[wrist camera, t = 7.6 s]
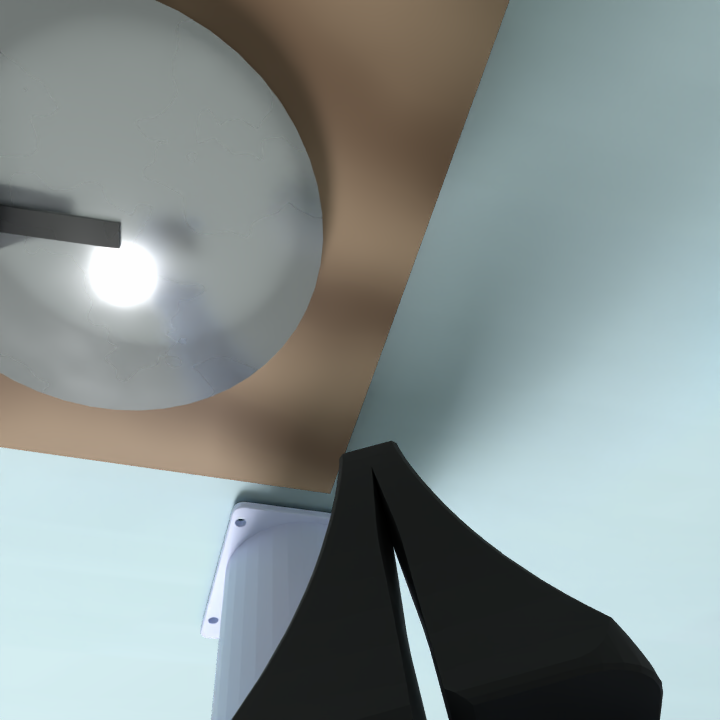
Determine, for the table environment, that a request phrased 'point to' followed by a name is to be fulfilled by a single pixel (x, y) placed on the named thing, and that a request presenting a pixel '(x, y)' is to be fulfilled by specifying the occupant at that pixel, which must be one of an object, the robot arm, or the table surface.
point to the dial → (144, 207)
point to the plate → (340, 235)
